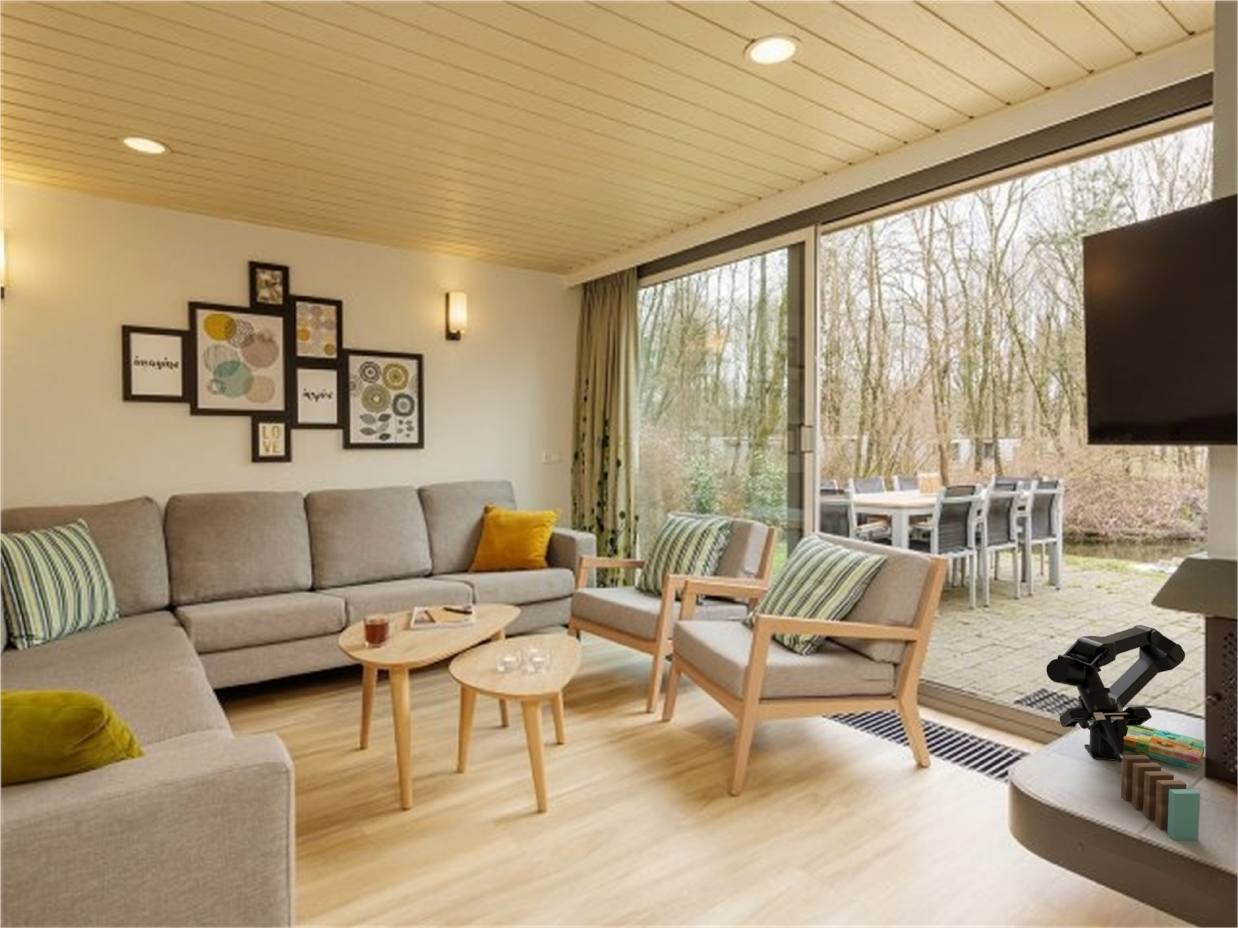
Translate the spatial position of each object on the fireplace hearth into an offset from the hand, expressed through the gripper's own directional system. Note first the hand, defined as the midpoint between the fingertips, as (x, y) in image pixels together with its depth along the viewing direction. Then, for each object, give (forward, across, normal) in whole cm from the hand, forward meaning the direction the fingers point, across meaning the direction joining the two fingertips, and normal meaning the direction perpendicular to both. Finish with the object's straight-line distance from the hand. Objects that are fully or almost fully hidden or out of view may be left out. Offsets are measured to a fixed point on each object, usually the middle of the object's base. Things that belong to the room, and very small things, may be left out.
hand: (1121, 753), depth 161 cm
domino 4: (+17, 0, +5) cm, 17 cm away
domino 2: (+12, 0, 0) cm, 12 cm away
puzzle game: (-5, -19, -18) cm, 27 cm away
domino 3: (+14, 0, +3) cm, 14 cm away
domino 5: (+19, 0, +8) cm, 21 cm away
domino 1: (+9, 0, -2) cm, 10 cm away
